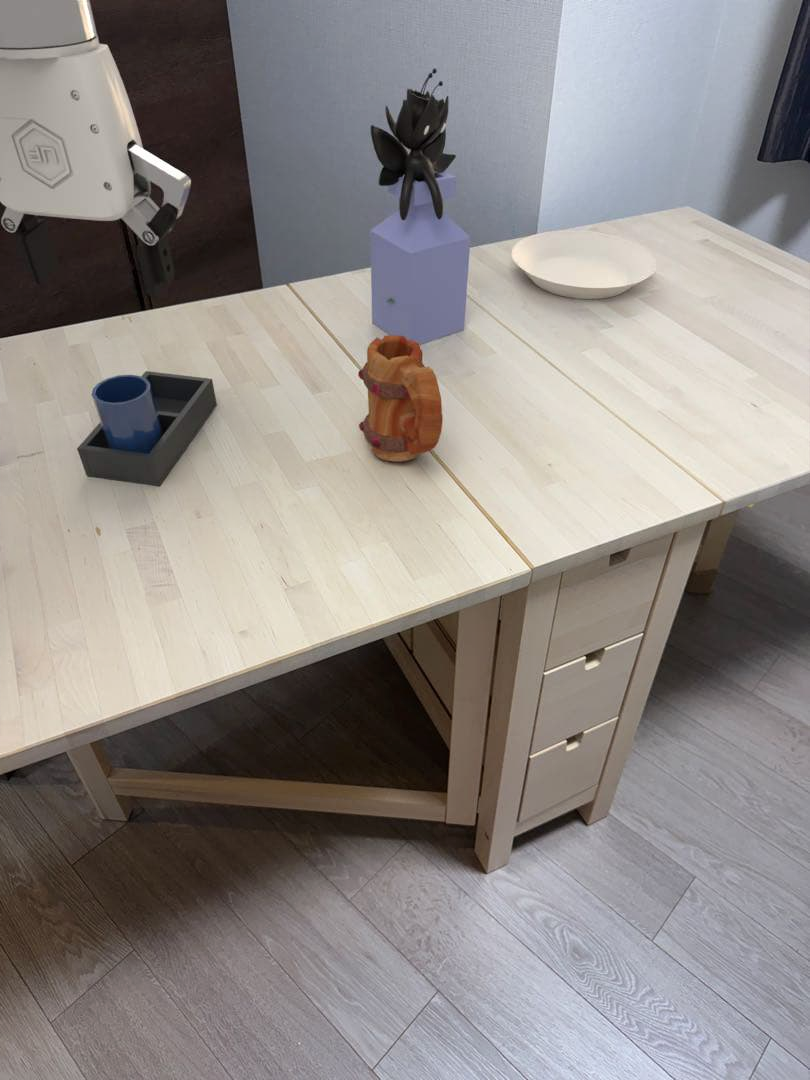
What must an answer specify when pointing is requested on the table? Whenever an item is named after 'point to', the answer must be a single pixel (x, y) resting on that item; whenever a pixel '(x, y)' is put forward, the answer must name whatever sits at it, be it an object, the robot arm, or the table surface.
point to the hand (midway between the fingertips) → (103, 283)
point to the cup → (128, 413)
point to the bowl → (583, 263)
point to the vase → (418, 227)
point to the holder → (180, 418)
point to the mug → (400, 400)
